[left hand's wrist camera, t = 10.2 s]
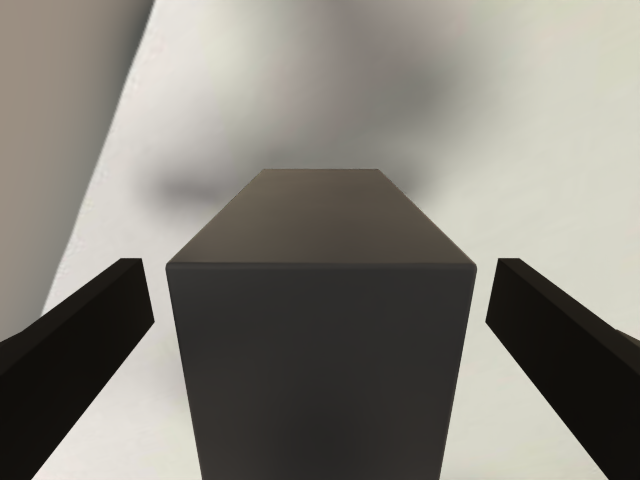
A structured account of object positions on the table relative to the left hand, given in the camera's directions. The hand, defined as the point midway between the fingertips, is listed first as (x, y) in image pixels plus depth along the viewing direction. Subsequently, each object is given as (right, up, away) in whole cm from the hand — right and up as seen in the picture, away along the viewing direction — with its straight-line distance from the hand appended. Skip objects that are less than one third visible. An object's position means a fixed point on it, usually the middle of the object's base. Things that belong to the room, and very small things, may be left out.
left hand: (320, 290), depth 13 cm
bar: (0, -6, +5) cm, 8 cm away
